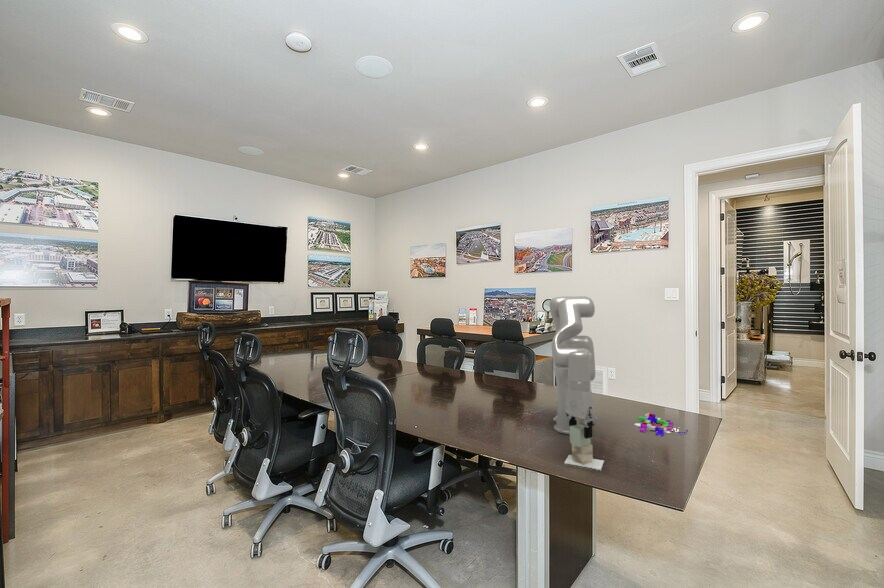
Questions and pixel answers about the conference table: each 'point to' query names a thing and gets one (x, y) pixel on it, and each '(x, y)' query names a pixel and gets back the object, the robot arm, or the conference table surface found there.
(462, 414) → the conference table surface
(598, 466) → the external hard drive
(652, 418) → the building block set
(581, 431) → the sage block
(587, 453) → the birch block
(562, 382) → the robot arm
